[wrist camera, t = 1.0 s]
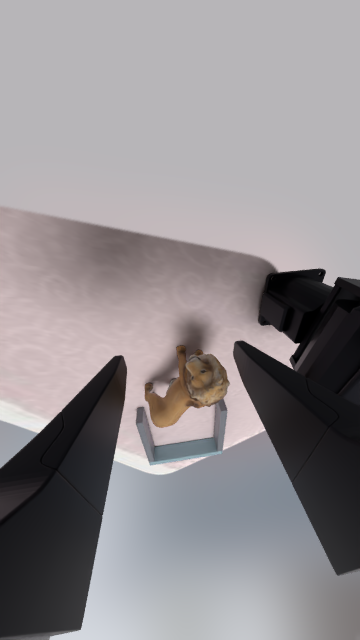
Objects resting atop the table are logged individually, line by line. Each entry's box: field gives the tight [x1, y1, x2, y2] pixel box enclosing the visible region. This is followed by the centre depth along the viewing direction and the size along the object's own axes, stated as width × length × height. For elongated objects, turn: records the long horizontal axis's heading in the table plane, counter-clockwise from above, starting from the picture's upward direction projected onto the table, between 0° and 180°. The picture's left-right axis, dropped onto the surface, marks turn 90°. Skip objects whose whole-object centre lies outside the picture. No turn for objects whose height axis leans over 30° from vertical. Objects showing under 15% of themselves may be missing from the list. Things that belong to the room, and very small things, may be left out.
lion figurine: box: [145, 346, 230, 428], centre depth 21 cm, size 15×5×9 cm, turn 152°
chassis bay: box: [136, 399, 227, 465], centre depth 32 cm, size 14×14×2 cm
